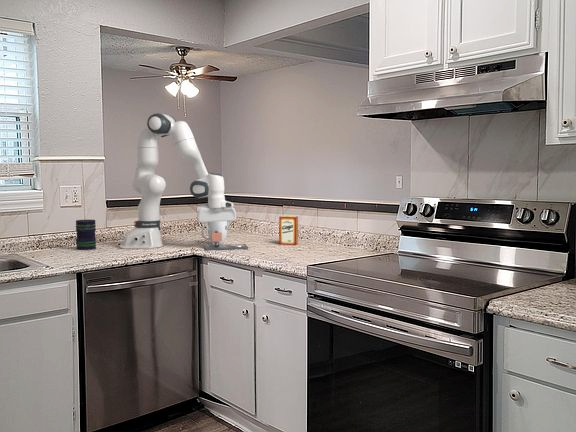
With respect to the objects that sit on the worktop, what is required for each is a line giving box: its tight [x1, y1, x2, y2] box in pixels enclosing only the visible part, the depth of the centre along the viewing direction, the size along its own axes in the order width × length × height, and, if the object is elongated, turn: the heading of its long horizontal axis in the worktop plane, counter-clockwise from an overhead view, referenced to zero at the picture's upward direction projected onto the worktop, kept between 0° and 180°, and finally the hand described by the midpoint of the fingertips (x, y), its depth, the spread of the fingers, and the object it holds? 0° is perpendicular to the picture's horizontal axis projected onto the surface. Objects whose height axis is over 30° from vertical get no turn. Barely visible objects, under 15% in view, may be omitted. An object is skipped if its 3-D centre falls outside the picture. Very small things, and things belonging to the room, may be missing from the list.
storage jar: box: [75, 219, 97, 251], centre depth 295 cm, size 10×10×15 cm
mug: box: [200, 221, 228, 245], centre depth 316 cm, size 15×11×13 cm
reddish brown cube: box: [211, 231, 222, 241], centre depth 298 cm, size 5×5×5 cm
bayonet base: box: [204, 241, 249, 251], centre depth 299 cm, size 22×12×7 cm, turn 102°
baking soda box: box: [278, 214, 299, 246], centre depth 315 cm, size 10×6×16 cm
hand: (217, 230), depth 297 cm, fingers open, 8 cm apart
